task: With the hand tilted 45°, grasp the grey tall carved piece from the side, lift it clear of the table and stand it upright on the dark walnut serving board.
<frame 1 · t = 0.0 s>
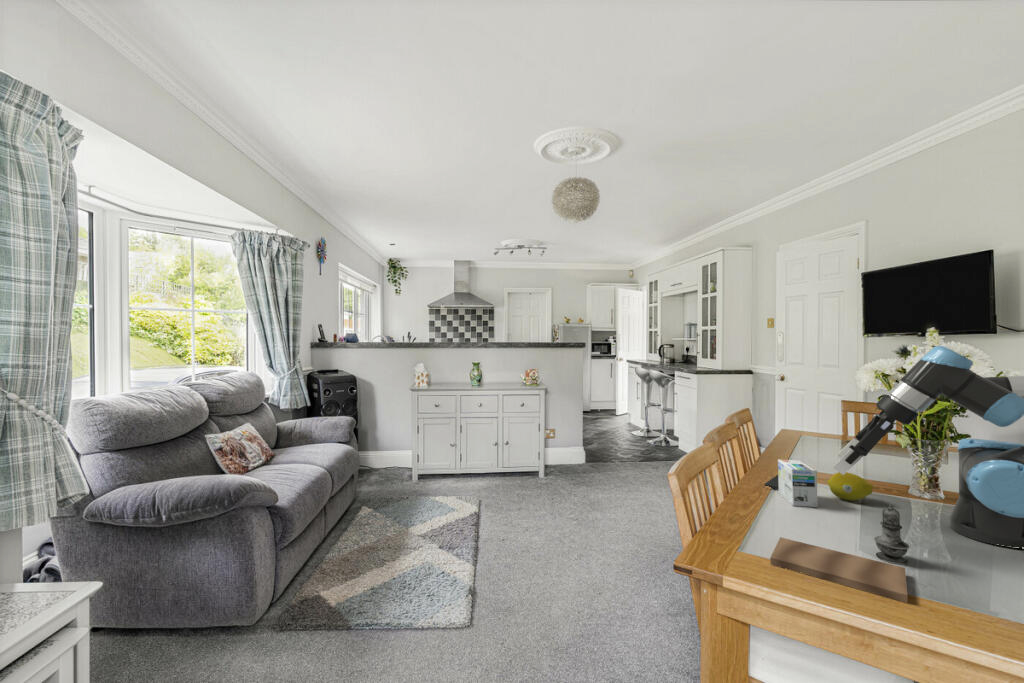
hand: (839, 464, 113), 15 cm above the table, tool tilted 35°, fingers open, 13 cm apart
walnut board: (835, 569, 91), on the table
smart home device: (787, 485, 144), on the table
lemon: (849, 500, 128), on the table
grey tall carved piece: (891, 559, 95), on the table
light bulb box: (797, 500, 129), on the table
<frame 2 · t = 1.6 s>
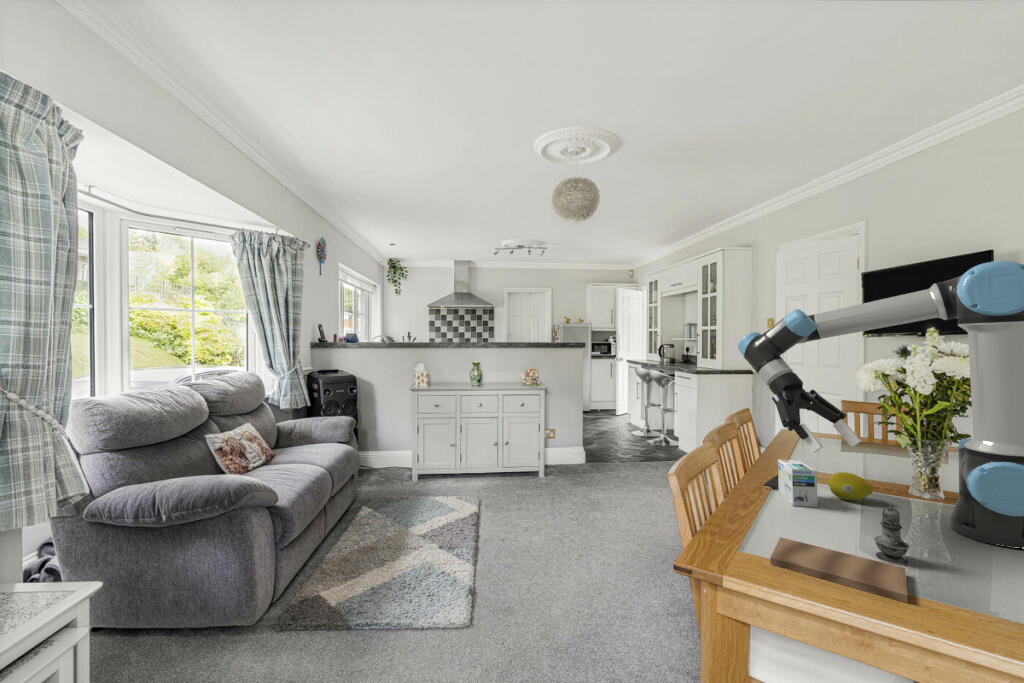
hand: (837, 447, 105), 22 cm above the table, tool tilted 45°, fingers open, 13 cm apart
nothing on the table moved.
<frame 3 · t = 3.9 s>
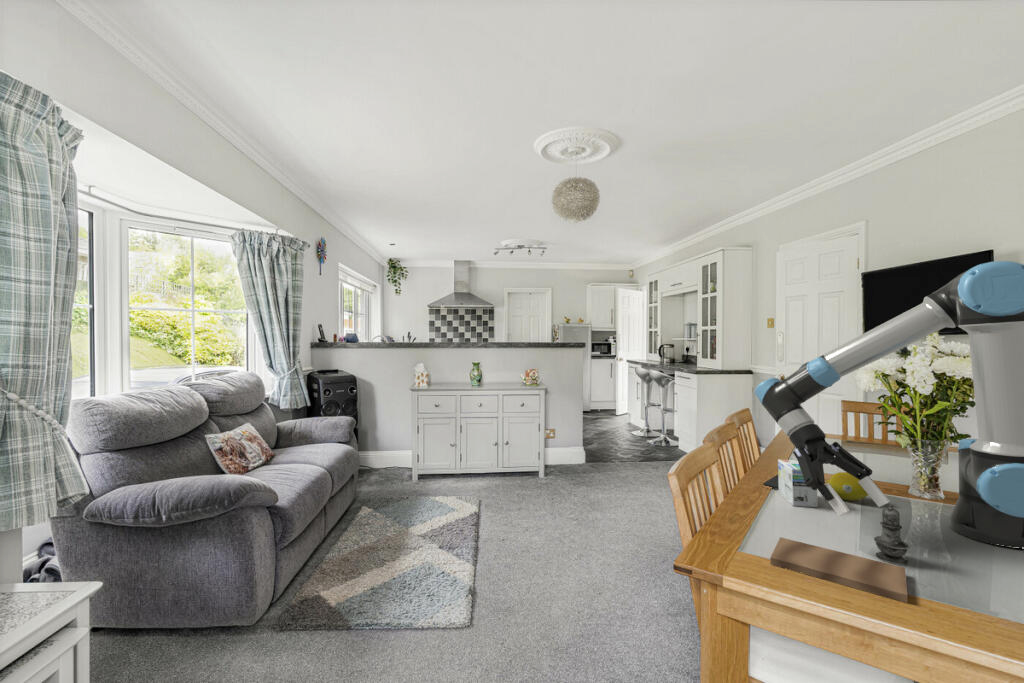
hand: (865, 508, 99), 9 cm above the table, tool tilted 45°, fingers open, 13 cm apart
nothing on the table moved.
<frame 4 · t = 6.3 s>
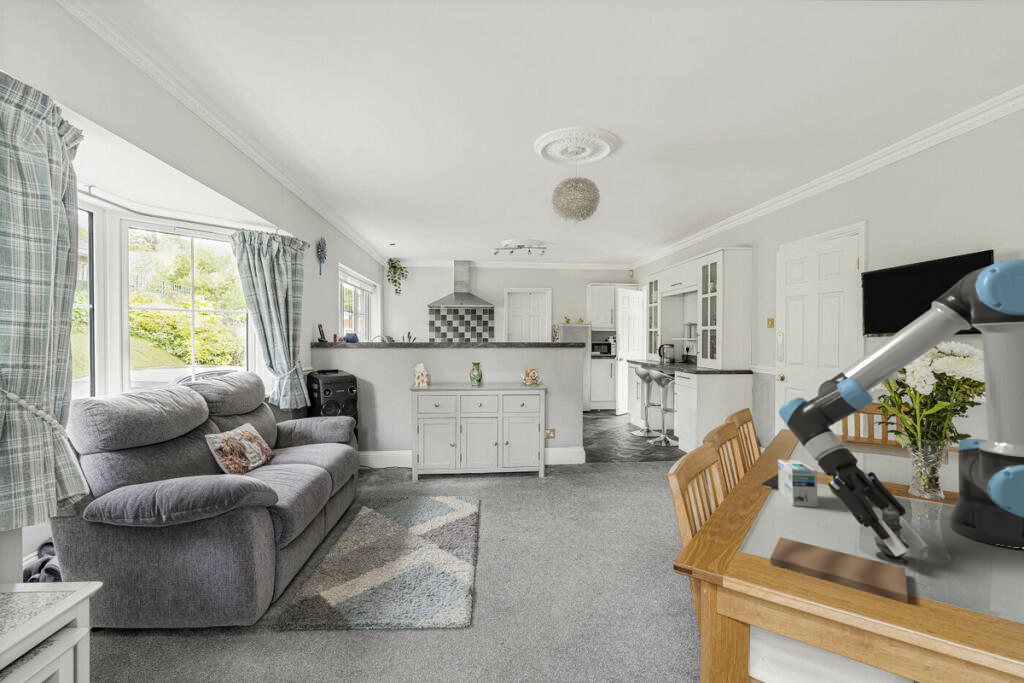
hand: (911, 550, 92), 3 cm above the table, tool tilted 45°, fingers closed on grey tall carved piece, 5 cm apart
grey tall carved piece: (891, 559, 95), on the table, touching gripper
everything else where it was.
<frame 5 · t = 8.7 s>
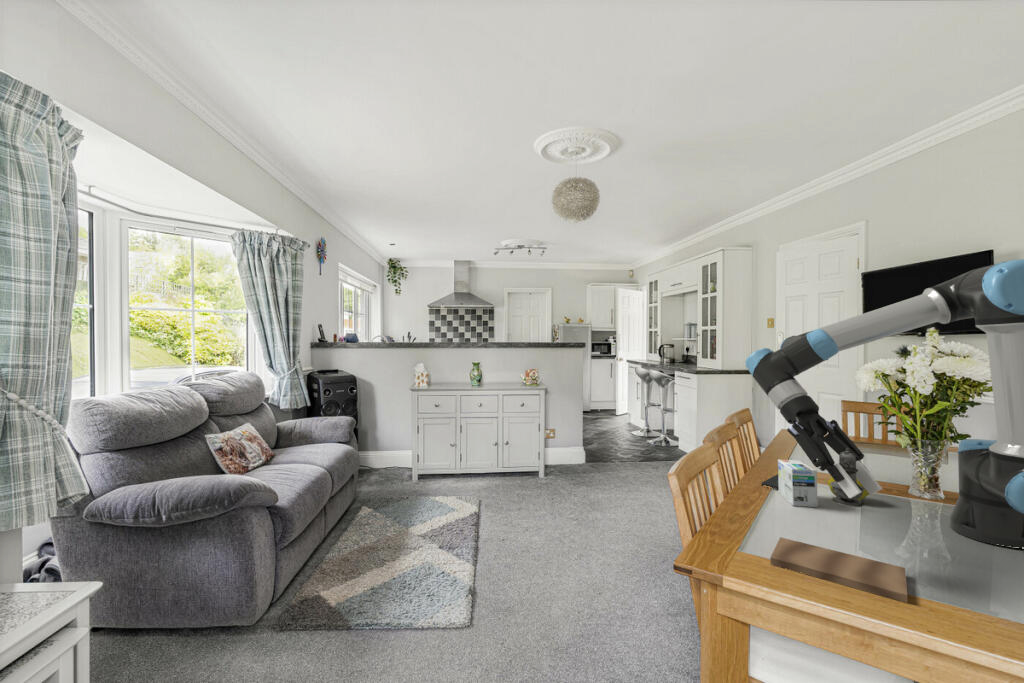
hand: (865, 493, 90), 16 cm above the table, tool tilted 45°, fingers closed on grey tall carved piece, 5 cm apart
grey tall carved piece: (847, 503, 94), point 13 cm above the table, touching gripper
everything else where it was.
when the fingers open (7 cm above the table, at t = 11.0 s): grey tall carved piece drops 2 cm, resting on walnut board.
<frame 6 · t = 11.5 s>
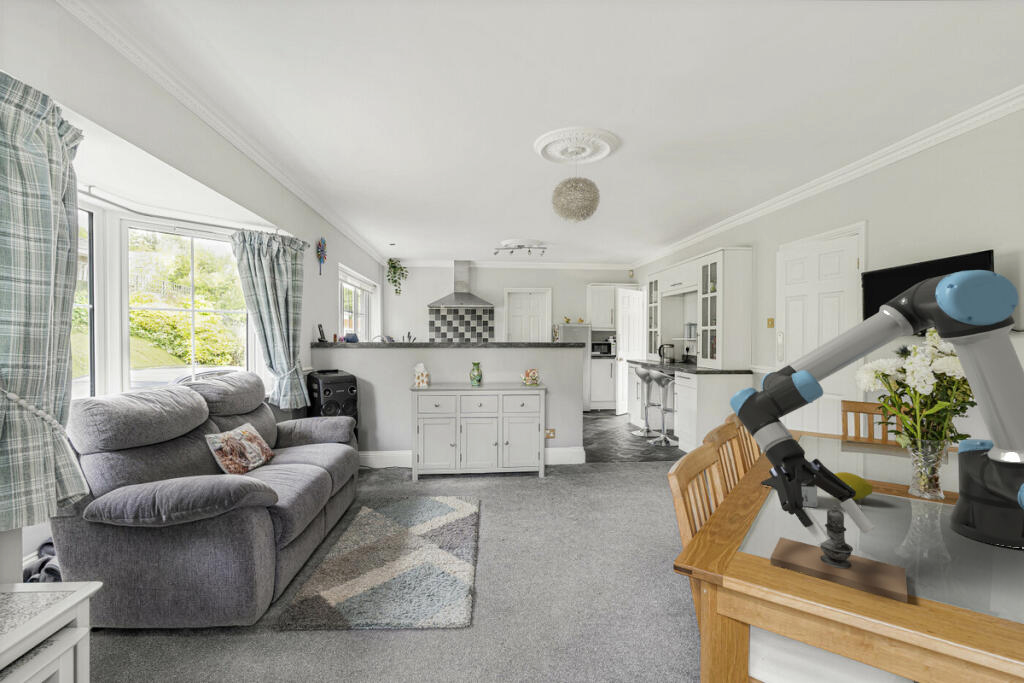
hand: (847, 536, 89), 8 cm above the table, tool tilted 45°, fingers open, 13 cm apart
grey tall carved piece: (835, 562, 91), point 1 cm above the table, touching walnut board
everything else where it was.
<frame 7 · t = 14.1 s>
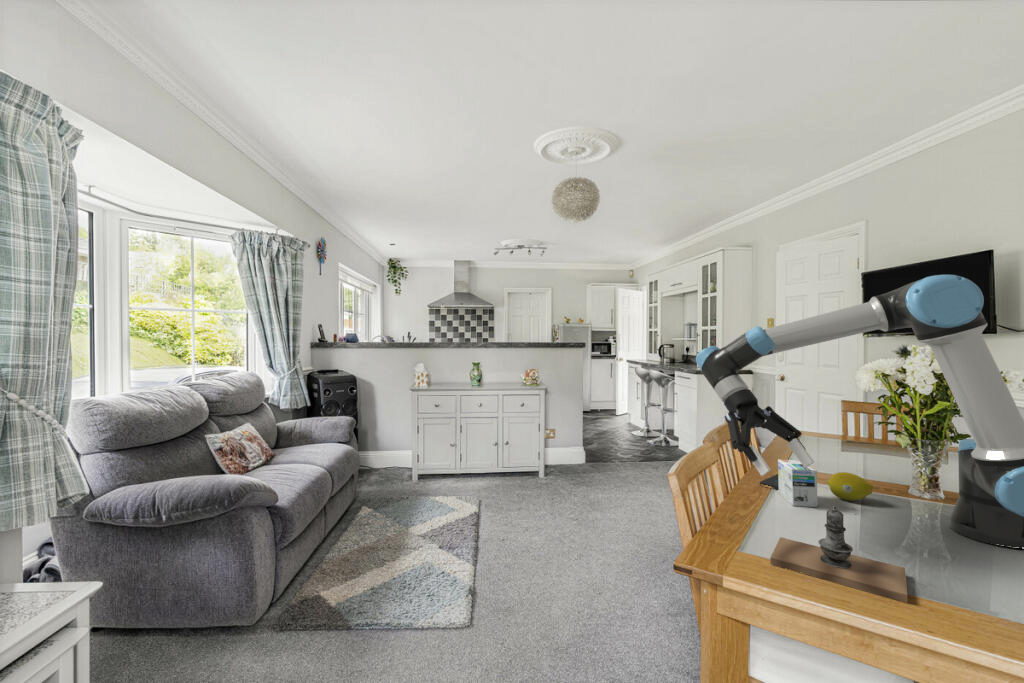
hand: (788, 469, 102), 18 cm above the table, tool tilted 45°, fingers open, 13 cm apart
nothing on the table moved.
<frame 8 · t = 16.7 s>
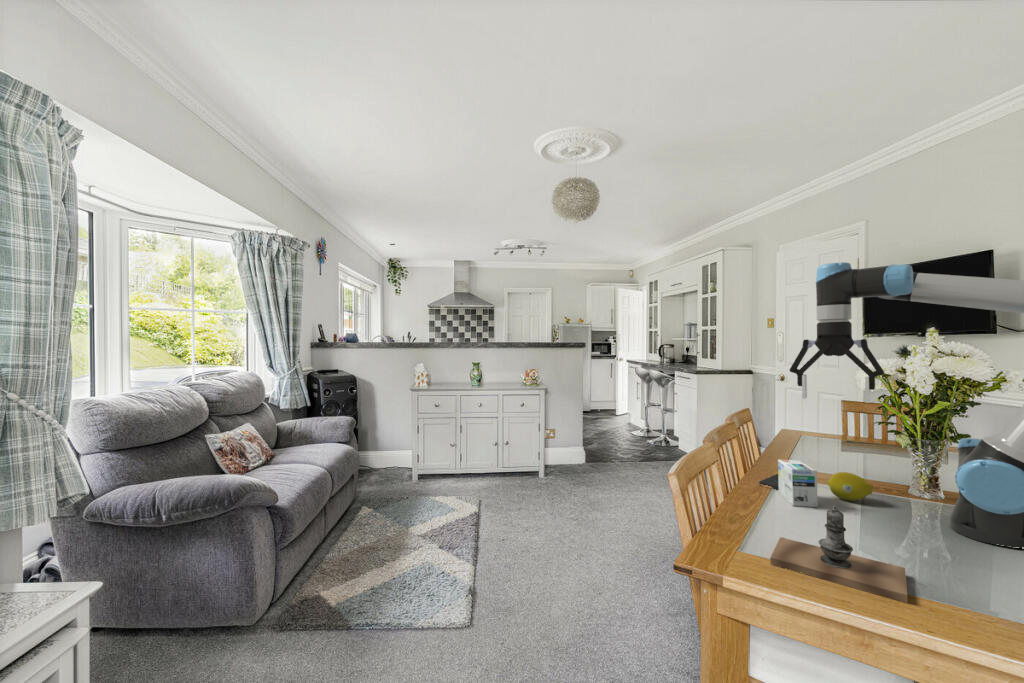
hand: (834, 400, 117), 32 cm above the table, tool pointing down, fingers open, 13 cm apart
at the end: grey tall carved piece inside the target area on the walnut board (0.2 cm from its centre), point 1.3 cm above the walnut board's base; grey tall carved piece tilted 0°; the gripper is holding nothing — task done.
